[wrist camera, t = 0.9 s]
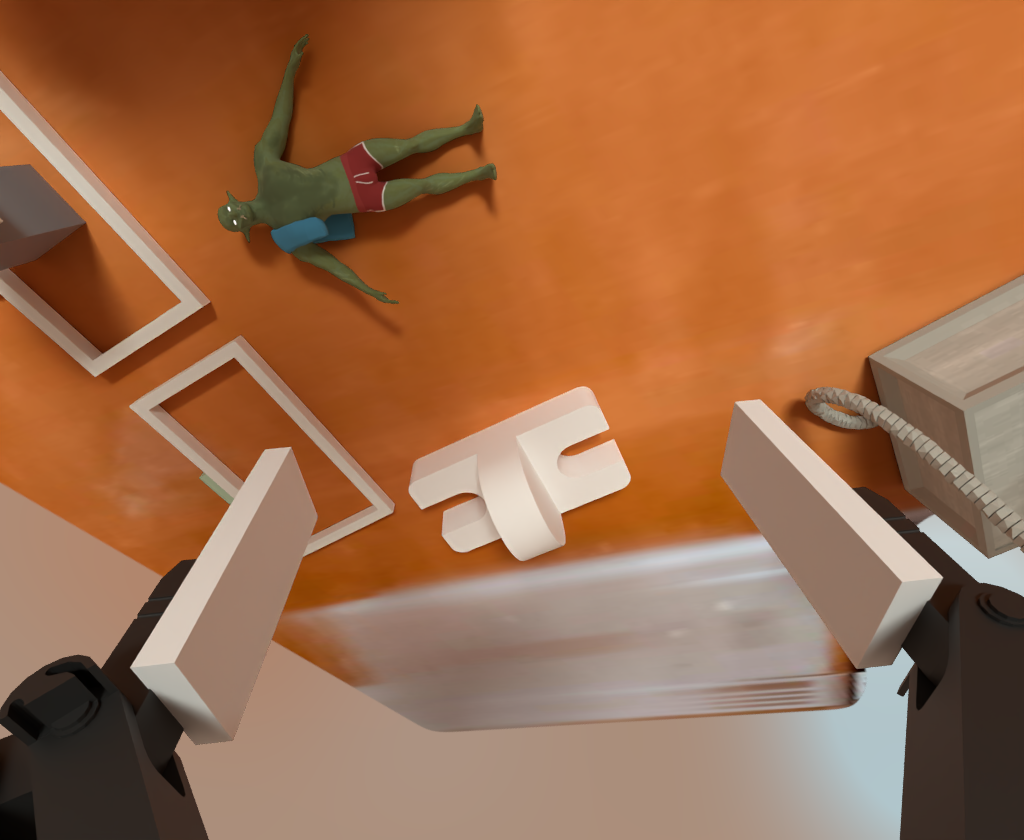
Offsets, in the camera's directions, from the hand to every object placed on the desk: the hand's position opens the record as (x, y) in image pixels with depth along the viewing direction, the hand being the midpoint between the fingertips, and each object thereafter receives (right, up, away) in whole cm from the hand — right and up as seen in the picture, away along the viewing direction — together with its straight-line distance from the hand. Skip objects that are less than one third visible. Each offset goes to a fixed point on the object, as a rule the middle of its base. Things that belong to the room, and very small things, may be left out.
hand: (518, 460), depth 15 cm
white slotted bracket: (0, -3, +31) cm, 31 cm away
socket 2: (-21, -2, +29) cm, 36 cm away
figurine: (-10, +18, +18) cm, 28 cm away
